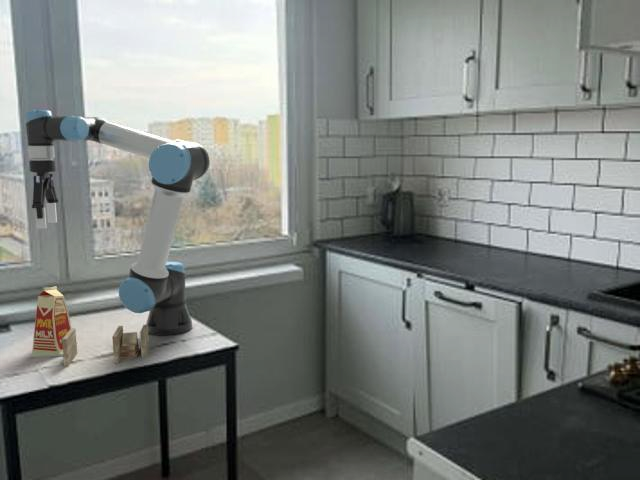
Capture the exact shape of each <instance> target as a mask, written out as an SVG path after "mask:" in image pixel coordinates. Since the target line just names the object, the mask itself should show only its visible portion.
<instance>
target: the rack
mask: <svg viewBox="0 0 640 480" xmlns="http://www.w3.org/2000/svg"><path fill="white" fill-rule="evenodd" d="M123 333H124V326H123V325H118V326H117V328H116V330H115V332H114V333H113V335H112V336H111V337H112V351H113V363H114V364H119V362H120V361H121V359H122V357H121V344H122V338H123ZM139 335H140V351H141V353H140V354H141V359H146V358H147V355H148V354H147V353H149V350H150V347H149V345H150V342H149V333H148V325H146V324H143V325H142V326H141V330H140V333H139ZM76 341H77V331H76V328H75V327H71V329H70V330H69V331H68V333H67V334H66V335H65V336H64V338H63V339H62V344H63V356H62V357H63V366H64V367H69V366H70V365H71V363H72V362H73V360H74V359H75V358H76V356H77V355H78V346H77V345H78V342H77V343H76Z"/></svg>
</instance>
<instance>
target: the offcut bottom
mask: <svg viewBox="0 0 640 480" xmlns="http://www.w3.org/2000/svg"><path fill="white" fill-rule="evenodd" d="M139 351H140V344H139V345H138V347H137V349H136V350H135V352H121V359H123V358H124V357H125V358H136V357H137V355H138V353H139Z"/></svg>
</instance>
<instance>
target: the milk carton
mask: <svg viewBox="0 0 640 480" xmlns="http://www.w3.org/2000/svg"><path fill="white" fill-rule="evenodd" d="M42 289H43V290H42V291H41V293H39V295H37V304H36V311H35V318H34V319H35V320H34V330H33V338H32V339H33V340H32V352H37V353H49V354H61V353H62V352H63V344H62V339H63V338H64V336H65V335H66V334H67V333H68V331H69V330H70V329H71V328H72V323H71V320H70V319H71V318H70V314H69V310H68V305H67V303H66V299H65V295H63V294H62V293H61V292H60V291H59V290H58V286H56V285H55V286H51V287H49V286H48V287H47V286H43V287H42ZM32 352H31V353H32Z"/></svg>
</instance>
